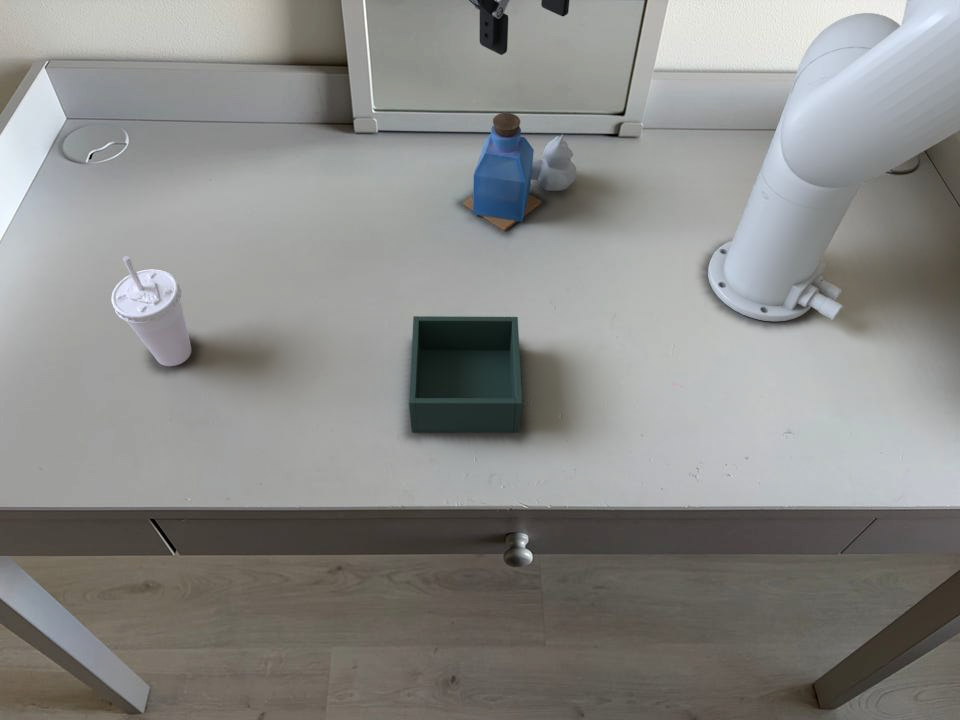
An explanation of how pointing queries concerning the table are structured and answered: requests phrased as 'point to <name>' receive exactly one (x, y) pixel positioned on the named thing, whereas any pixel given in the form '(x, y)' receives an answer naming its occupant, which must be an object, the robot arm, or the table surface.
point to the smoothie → (154, 312)
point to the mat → (506, 223)
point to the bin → (465, 374)
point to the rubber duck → (554, 166)
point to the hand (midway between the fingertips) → (524, 29)
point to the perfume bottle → (503, 171)
